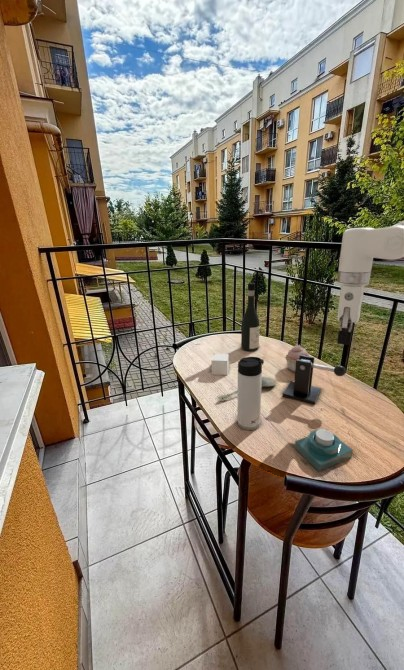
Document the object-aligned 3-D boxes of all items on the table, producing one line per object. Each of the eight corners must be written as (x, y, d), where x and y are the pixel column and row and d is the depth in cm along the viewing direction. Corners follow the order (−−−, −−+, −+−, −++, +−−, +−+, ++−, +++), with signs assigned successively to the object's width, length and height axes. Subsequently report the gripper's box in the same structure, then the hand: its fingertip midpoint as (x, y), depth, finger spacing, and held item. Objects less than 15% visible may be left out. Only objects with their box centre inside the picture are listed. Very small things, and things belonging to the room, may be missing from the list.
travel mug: (259, 433, 75) (261, 366, 68) (235, 428, 77) (235, 363, 70) (262, 419, 81) (265, 355, 74) (240, 414, 83) (240, 353, 76)
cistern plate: (325, 436, 73) (327, 423, 72) (351, 457, 66) (354, 443, 65) (294, 448, 70) (295, 434, 68) (318, 471, 63) (320, 457, 61)
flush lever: (345, 374, 84) (347, 365, 83) (344, 379, 81) (345, 369, 80) (301, 365, 91) (302, 356, 90) (298, 369, 88) (299, 360, 87)
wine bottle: (262, 347, 129) (264, 282, 119) (252, 353, 124) (254, 285, 113) (247, 343, 134) (248, 281, 124) (237, 349, 129) (238, 283, 118)
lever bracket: (320, 391, 93) (325, 356, 88) (314, 405, 86) (319, 367, 81) (290, 384, 98) (293, 350, 94) (282, 396, 91) (285, 361, 87)
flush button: (324, 433, 69) (324, 427, 68) (337, 443, 65) (338, 437, 65) (311, 437, 68) (312, 431, 67) (324, 448, 64) (324, 442, 63)
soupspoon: (279, 388, 97) (266, 381, 102) (279, 379, 96) (266, 372, 101) (225, 405, 87) (214, 396, 93) (225, 396, 86) (214, 387, 92)
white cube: (211, 374, 107) (211, 360, 105) (213, 367, 112) (213, 353, 110) (227, 375, 106) (227, 360, 104) (228, 368, 111) (228, 354, 109)
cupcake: (315, 371, 106) (317, 347, 102) (294, 376, 103) (296, 351, 99) (299, 361, 114) (301, 339, 110) (279, 366, 111) (281, 342, 108)
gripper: (367, 283, 65) (356, 355, 72) (371, 274, 77) (360, 336, 84) (333, 282, 69) (324, 350, 76) (341, 273, 81) (333, 333, 88)
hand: (343, 342), depth 80 cm, fingers closed
